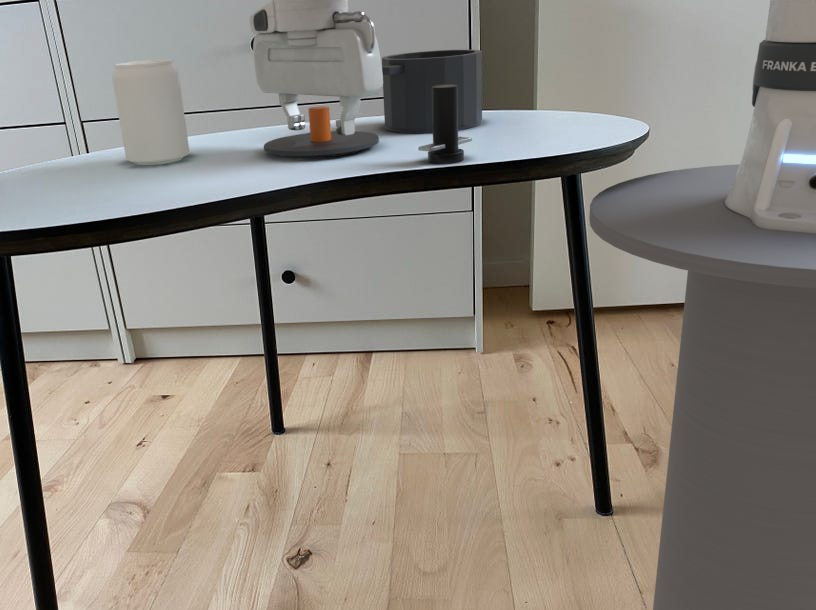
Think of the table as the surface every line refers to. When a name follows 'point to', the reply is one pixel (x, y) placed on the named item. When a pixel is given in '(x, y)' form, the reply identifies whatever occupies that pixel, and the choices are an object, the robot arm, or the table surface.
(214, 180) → the table surface
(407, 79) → the pot
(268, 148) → the lid
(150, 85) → the beverage can
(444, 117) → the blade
